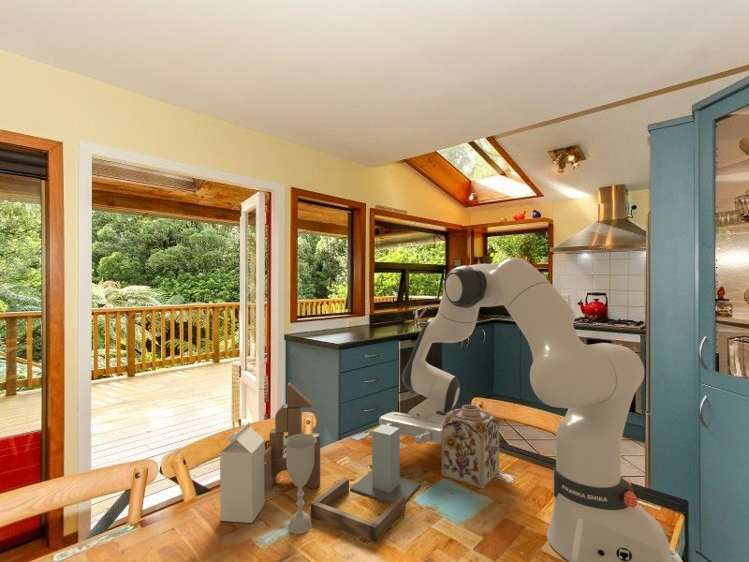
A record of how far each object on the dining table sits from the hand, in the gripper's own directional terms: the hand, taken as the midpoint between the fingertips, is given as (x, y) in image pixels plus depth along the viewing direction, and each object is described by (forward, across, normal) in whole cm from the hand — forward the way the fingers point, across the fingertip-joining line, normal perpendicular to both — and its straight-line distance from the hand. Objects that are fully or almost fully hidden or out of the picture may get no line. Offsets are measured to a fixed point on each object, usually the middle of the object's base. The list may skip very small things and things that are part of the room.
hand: (401, 436), depth 107 cm
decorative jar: (-9, +16, +10) cm, 21 cm away
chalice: (+31, -8, +10) cm, 34 cm away
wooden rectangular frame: (+21, 0, +10) cm, 23 cm away
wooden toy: (+19, -22, +10) cm, 31 cm away
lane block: (+9, 0, +9) cm, 13 cm away
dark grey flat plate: (+9, 0, +10) cm, 13 cm away
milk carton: (+34, -22, +10) cm, 42 cm away
